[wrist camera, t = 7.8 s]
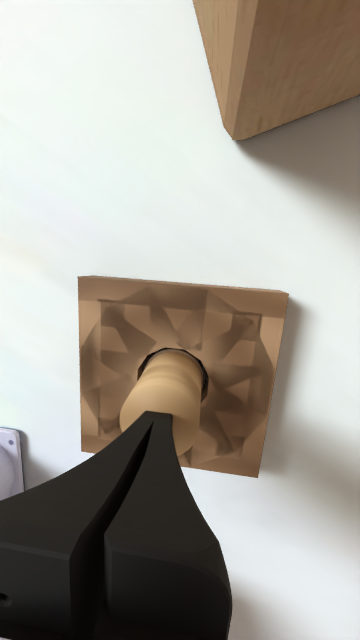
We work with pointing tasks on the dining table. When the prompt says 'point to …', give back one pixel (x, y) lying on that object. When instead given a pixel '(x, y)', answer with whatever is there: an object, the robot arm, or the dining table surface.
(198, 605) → the robot arm
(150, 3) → the dining table surface
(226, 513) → the dining table surface
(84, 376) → the board
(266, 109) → the wooden block
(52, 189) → the dining table surface
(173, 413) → the peg
